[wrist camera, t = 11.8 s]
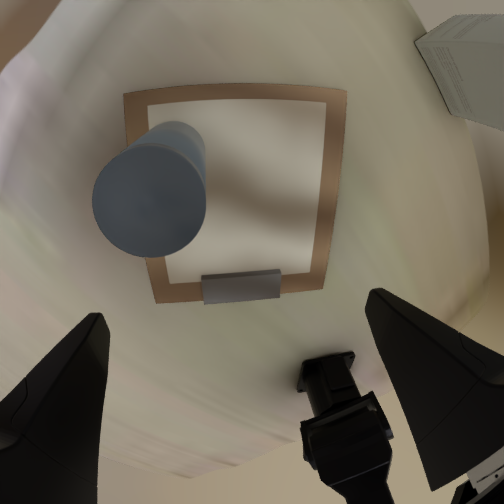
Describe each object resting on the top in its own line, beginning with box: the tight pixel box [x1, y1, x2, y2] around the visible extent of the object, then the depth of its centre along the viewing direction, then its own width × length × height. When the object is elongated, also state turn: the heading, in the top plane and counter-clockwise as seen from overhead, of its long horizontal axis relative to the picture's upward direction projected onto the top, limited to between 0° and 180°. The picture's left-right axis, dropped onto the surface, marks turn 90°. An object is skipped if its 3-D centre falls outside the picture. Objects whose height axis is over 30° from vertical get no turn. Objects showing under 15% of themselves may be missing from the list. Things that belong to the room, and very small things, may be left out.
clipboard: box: [123, 83, 347, 304], centre depth 19 cm, size 16×14×1 cm
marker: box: [92, 121, 206, 258], centre depth 13 cm, size 4×4×9 cm
